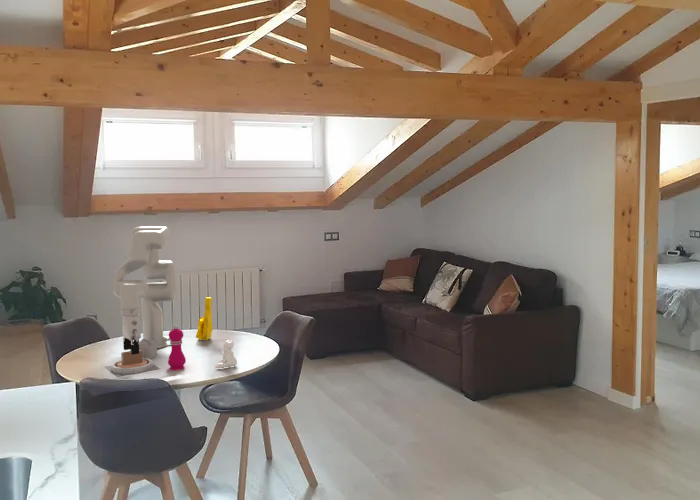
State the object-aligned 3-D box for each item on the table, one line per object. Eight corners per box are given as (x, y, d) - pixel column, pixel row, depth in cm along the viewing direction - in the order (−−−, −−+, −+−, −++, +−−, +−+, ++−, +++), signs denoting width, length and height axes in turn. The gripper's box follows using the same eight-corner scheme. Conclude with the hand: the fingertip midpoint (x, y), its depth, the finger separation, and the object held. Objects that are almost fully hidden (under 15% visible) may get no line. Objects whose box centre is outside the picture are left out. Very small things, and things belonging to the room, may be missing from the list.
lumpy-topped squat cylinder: (127, 362, 279) (127, 343, 278) (139, 354, 292) (139, 336, 291) (150, 363, 278) (149, 344, 277) (161, 355, 291) (160, 337, 290)
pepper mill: (170, 369, 269) (168, 323, 267) (187, 368, 269) (185, 323, 267) (166, 374, 262) (165, 327, 260) (184, 373, 262) (182, 327, 260)
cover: (141, 362, 274) (140, 346, 273) (151, 368, 265) (150, 352, 264) (113, 366, 267) (112, 351, 266) (122, 373, 257) (122, 357, 257)
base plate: (145, 362, 278) (145, 355, 278) (160, 372, 264) (160, 364, 264) (104, 370, 268) (104, 362, 267) (117, 380, 253) (117, 371, 253)
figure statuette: (203, 335, 329) (201, 294, 327) (217, 335, 329) (216, 294, 327) (192, 343, 312) (191, 300, 309) (207, 344, 311) (206, 300, 309)
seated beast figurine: (220, 363, 277) (219, 337, 276) (239, 363, 277) (238, 337, 276) (214, 370, 268) (214, 342, 266) (234, 370, 267) (234, 342, 266)
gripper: (146, 313, 259) (147, 354, 260) (132, 308, 272) (133, 346, 274) (127, 316, 254) (129, 357, 255) (114, 310, 268) (116, 349, 269)
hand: (131, 351), depth 265 cm, fingers open, 9 cm apart
